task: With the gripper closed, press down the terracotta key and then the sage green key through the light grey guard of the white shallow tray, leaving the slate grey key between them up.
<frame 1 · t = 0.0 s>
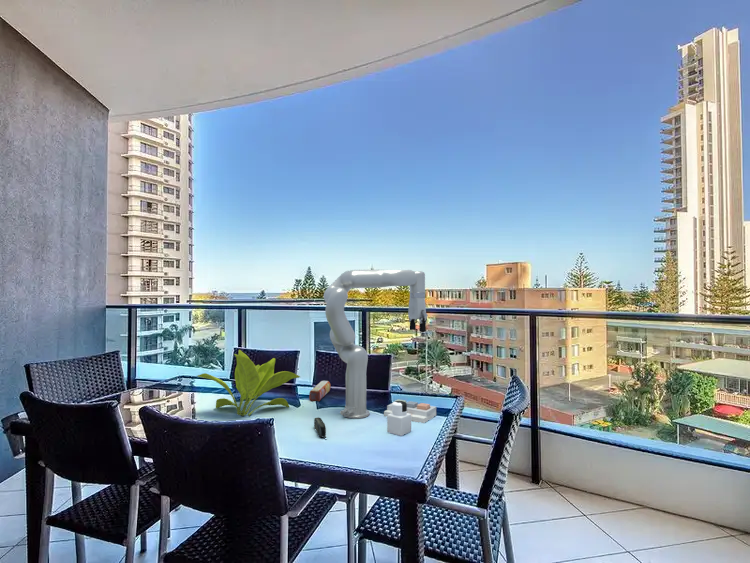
hand: (417, 330, 201), 37 cm above the table, tool pointing down, fingers open, 9 cm apart
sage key: (400, 403, 189), point 4 cm above the table, slide at 0.0 cm
artificial plant: (250, 412, 191), on the table
slate key: (411, 405, 186), point 5 cm above the table, slide at 0.0 cm
white shallow tray: (411, 414, 186), on the table
terracotta key: (423, 406, 183), point 5 cm above the table, slide at 0.0 cm
medicine bottle: (399, 432, 163), on the table
mobile phone: (320, 434, 161), on the table
snack package: (320, 397, 219), on the table
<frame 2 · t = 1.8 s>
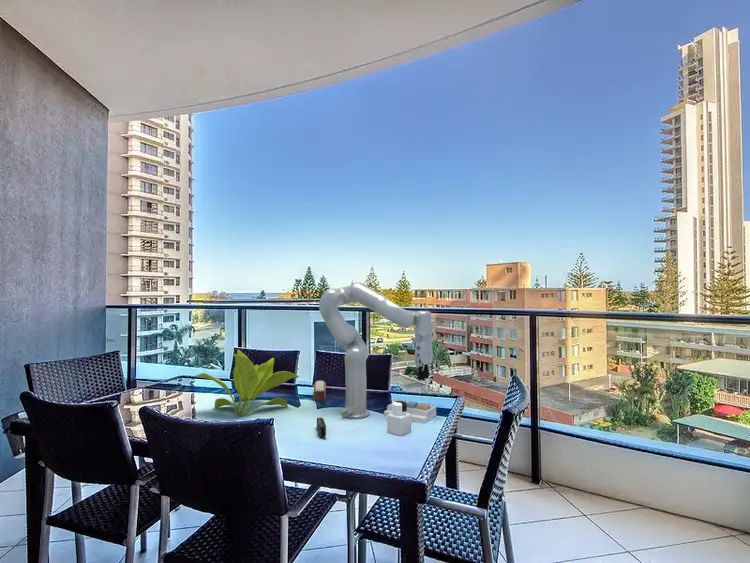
hand: (423, 378, 183), 17 cm above the table, tool pointing down, fingers open, 3 cm apart
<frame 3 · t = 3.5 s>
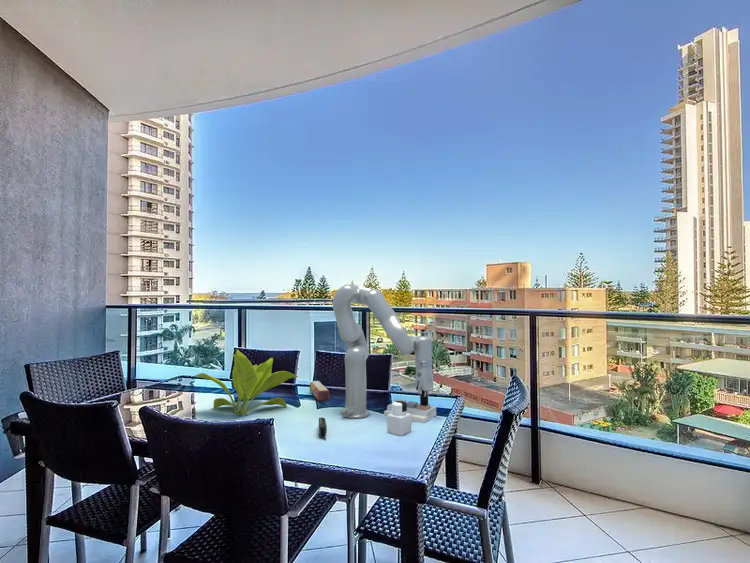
hand: (424, 404, 183), 5 cm above the table, tool pointing down, fingers closed
terracotta key: (423, 407, 183), point 4 cm above the table, slide at 0.1 cm, touching gripper
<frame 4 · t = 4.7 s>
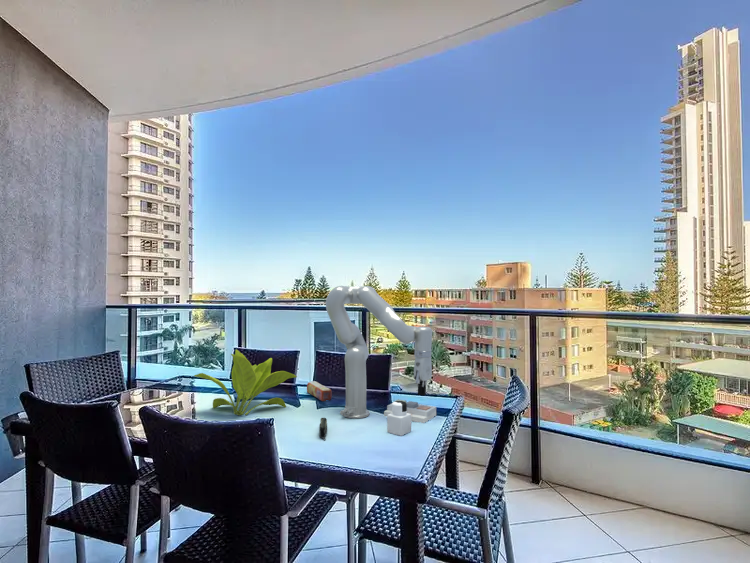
hand: (421, 394, 183), 10 cm above the table, tool pointing down, fingers closed
terracotta key: (423, 409, 183), point 3 cm above the table, slide at 1.3 cm
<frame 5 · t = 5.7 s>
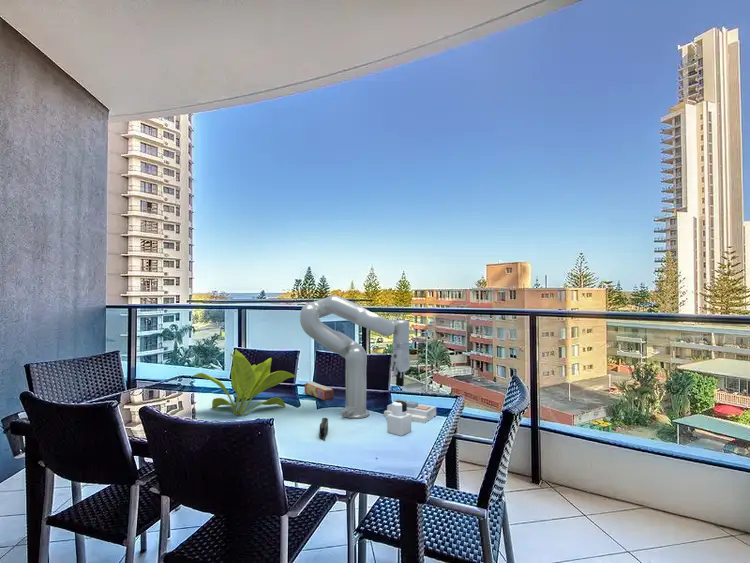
hand: (399, 385, 189), 13 cm above the table, tool pointing down, fingers closed
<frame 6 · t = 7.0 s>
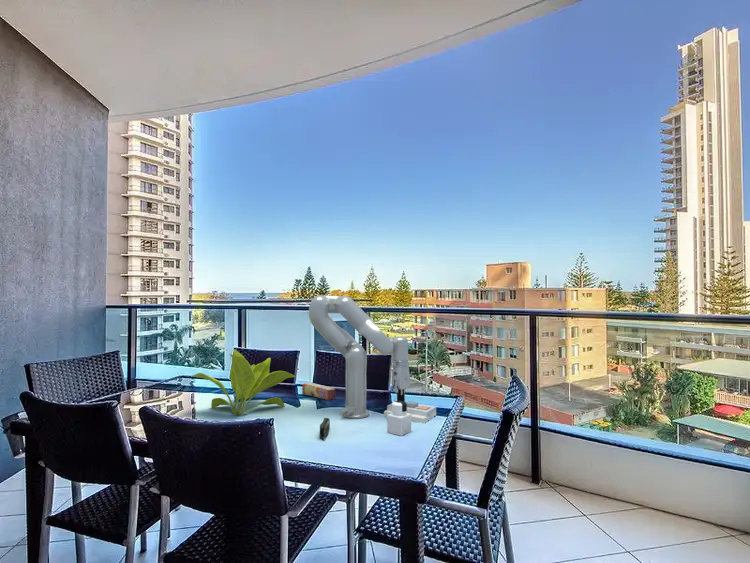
hand: (400, 402, 189), 5 cm above the table, tool pointing down, fingers closed
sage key: (400, 405, 189), point 4 cm above the table, slide at 1.0 cm, touching gripper
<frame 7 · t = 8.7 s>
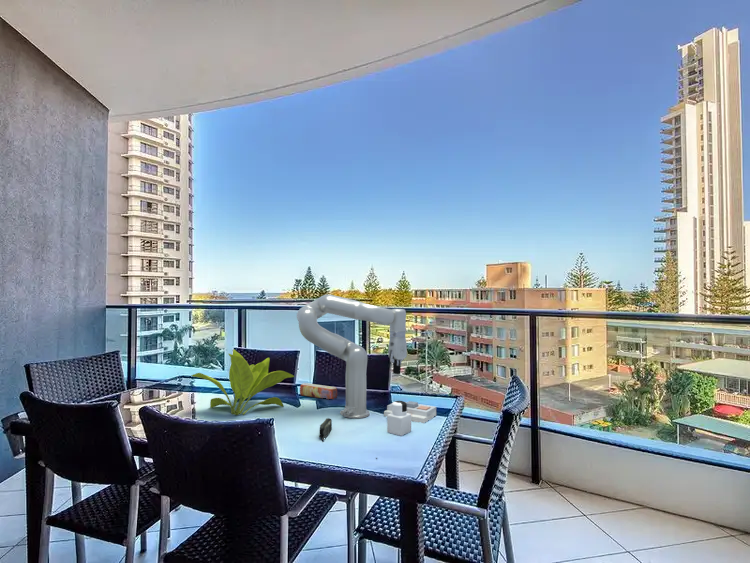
hand: (396, 373, 192), 18 cm above the table, tool pointing down, fingers closed
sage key: (400, 405, 189), point 3 cm above the table, slide at 1.2 cm
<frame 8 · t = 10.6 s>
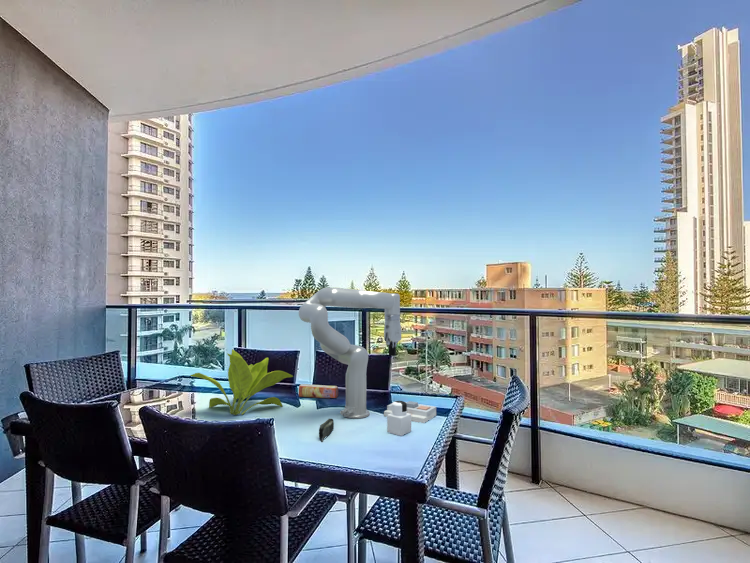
hand: (392, 355, 200), 25 cm above the table, tool pointing down, fingers closed
at the end: terracotta key slide at 1.3 cm; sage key slide at 1.2 cm; slate key slide at 0.0 cm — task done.
